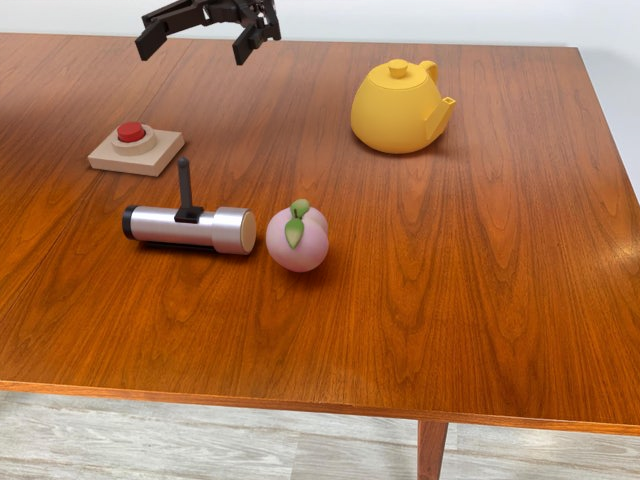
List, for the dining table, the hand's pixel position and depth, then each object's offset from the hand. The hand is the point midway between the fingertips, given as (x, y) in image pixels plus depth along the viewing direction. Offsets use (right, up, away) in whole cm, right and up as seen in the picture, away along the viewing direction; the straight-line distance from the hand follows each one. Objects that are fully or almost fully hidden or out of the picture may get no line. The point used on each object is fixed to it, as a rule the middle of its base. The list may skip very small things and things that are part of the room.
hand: (187, 53), depth 76 cm
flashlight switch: (-1, -20, +3) cm, 20 cm away
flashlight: (-2, -24, +8) cm, 26 cm away
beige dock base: (-16, -8, +24) cm, 30 cm away
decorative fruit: (+14, -28, +4) cm, 32 cm away
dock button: (-16, -6, +21) cm, 27 cm away
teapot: (+30, -3, +27) cm, 41 cm away
